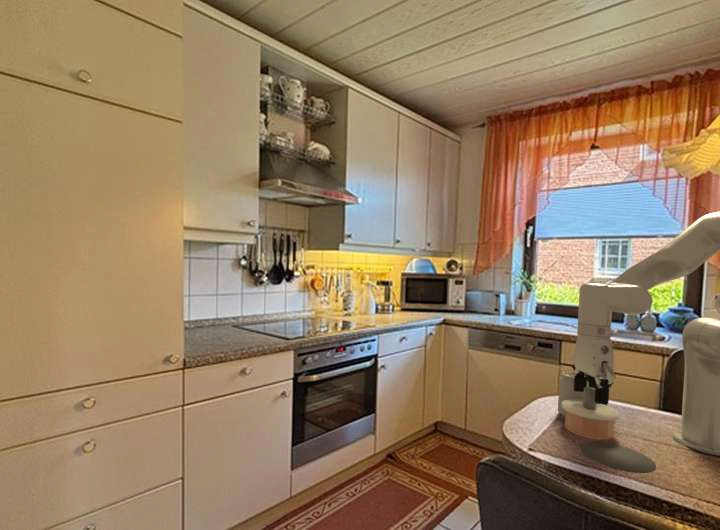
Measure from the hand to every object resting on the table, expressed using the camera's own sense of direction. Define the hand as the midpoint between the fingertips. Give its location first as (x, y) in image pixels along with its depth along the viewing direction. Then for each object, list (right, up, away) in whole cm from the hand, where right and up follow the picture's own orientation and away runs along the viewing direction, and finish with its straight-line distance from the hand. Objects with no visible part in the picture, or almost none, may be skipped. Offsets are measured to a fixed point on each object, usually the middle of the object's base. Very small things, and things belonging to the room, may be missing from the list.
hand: (590, 396), depth 106 cm
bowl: (0, -9, 0) cm, 9 cm away
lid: (0, -4, 0) cm, 4 cm away
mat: (-2, -9, -14) cm, 17 cm away
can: (+1, -9, +11) cm, 15 cm away
